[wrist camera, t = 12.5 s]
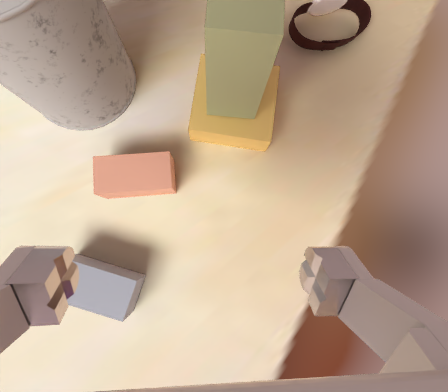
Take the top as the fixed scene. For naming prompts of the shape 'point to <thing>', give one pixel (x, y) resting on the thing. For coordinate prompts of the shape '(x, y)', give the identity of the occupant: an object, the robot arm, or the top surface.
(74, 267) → the robot arm
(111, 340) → the top surface
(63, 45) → the speckled grey cylinder
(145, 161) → the terracotta brick
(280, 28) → the olive brick
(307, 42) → the watch
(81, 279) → the slate brick
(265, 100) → the ochre slab
